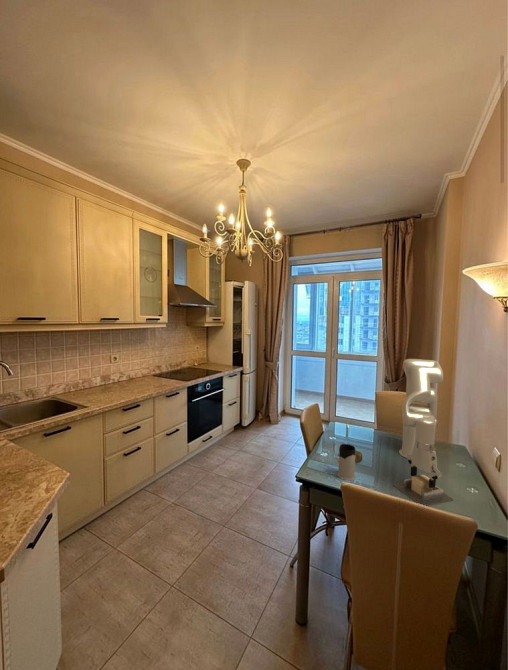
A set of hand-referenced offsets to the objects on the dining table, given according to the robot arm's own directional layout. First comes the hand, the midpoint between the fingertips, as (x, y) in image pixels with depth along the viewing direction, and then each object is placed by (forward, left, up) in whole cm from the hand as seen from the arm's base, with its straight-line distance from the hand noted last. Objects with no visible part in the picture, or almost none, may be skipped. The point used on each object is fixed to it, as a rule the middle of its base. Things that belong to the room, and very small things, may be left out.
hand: (422, 481), depth 125 cm
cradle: (0, 0, -5) cm, 5 cm away
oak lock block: (0, 0, -5) cm, 5 cm away
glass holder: (+27, -23, -6) cm, 36 cm away
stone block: (+13, -36, -6) cm, 38 cm away
